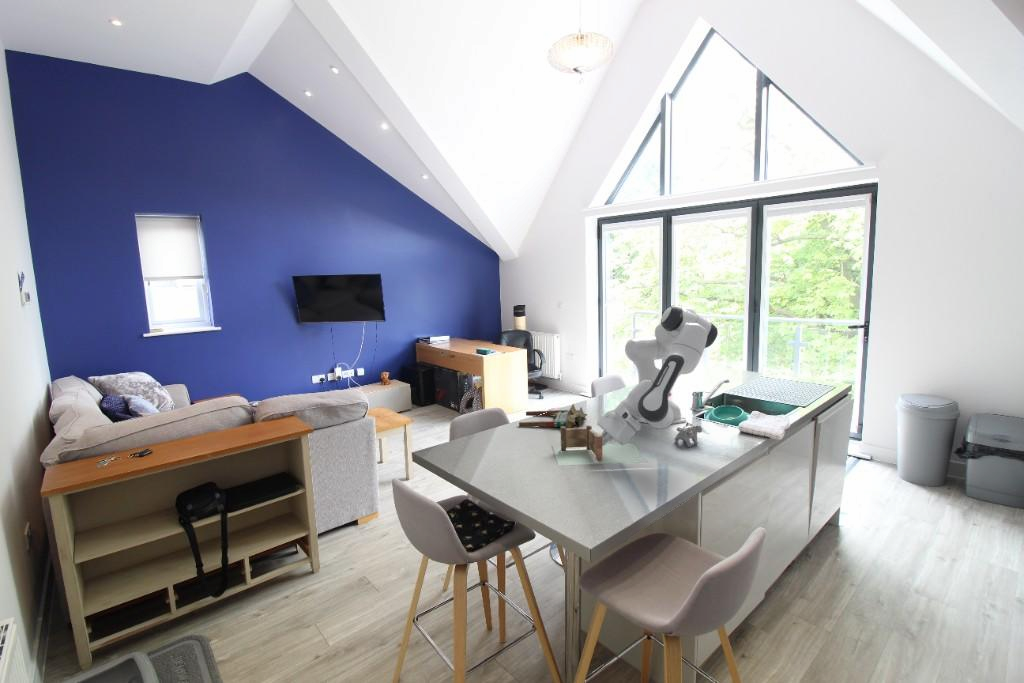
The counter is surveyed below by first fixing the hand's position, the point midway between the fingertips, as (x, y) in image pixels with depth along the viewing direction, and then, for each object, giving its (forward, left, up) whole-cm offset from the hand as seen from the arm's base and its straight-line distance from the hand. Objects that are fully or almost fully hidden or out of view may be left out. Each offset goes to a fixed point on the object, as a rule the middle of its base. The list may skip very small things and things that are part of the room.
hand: (600, 443), depth 178 cm
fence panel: (+2, -2, -5) cm, 6 cm away
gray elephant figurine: (-39, -13, -6) cm, 41 cm away
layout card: (0, -4, -6) cm, 7 cm away
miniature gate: (+11, -48, -7) cm, 50 cm away
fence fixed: (+7, -9, -5) cm, 13 cm away
